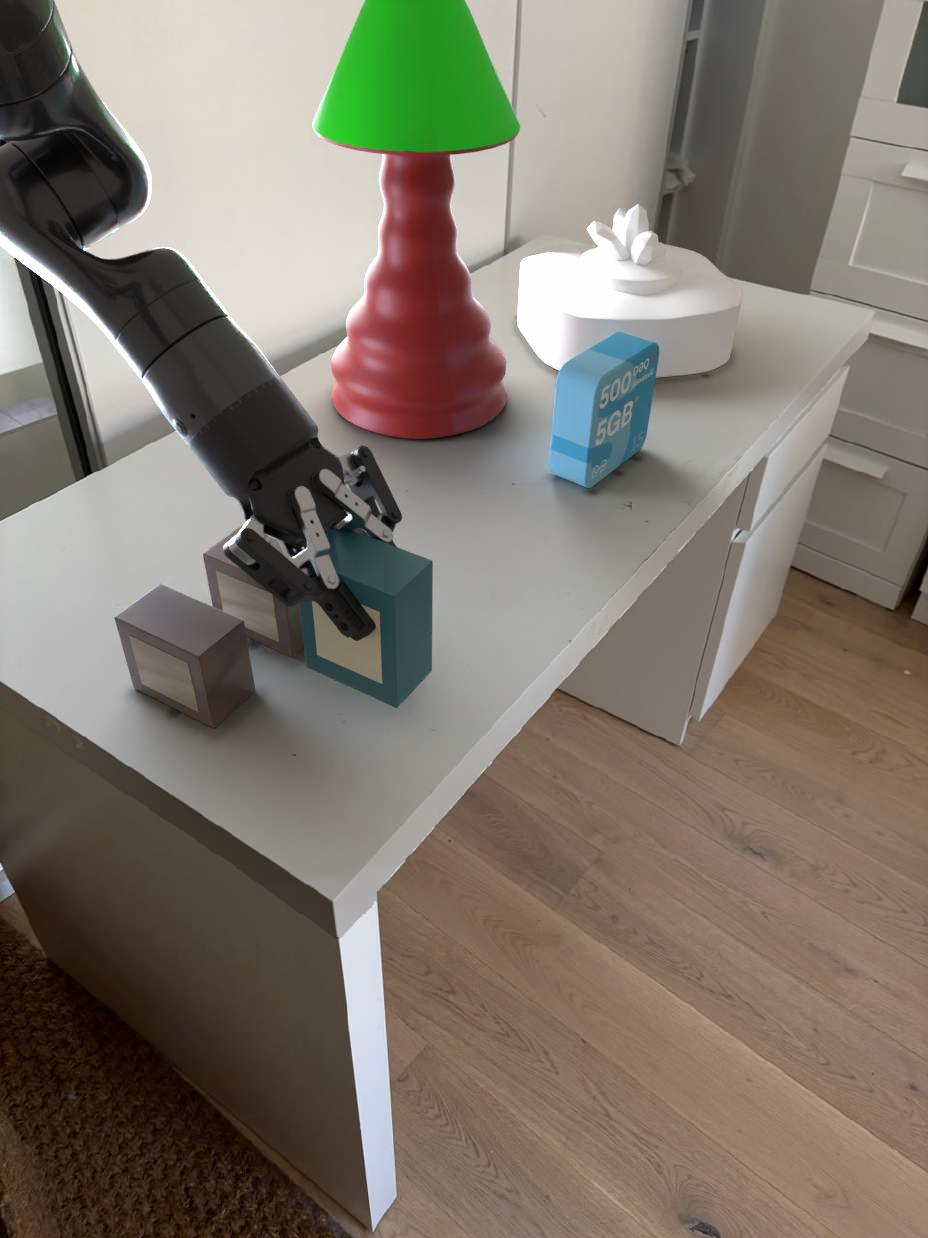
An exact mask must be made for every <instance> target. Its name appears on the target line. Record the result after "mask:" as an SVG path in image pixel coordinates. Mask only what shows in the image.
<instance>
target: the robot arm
mask: <svg viewBox="0 0 928 1238" xmlns="http://www.w3.org/2000/svg"><path fill="white" fill-rule="evenodd" d="M0 141H4V142H8V143H5V144H3V145H1V146H0V246H1V247H2V248H3V249H4V250H5V251H7V252H8V253H9V254H10V255H11V256H13V258H16V259H17V260H18V261H20V263H22V264H23V265H25V266H26V267H27V268H29V269H30V270H31V271H33V272H34V273H36V274H37V275H38V276H40V278H42V279H43V280H45V281H46V282H48V283H49V284H51V286H53V287H54V288H55V289H57V290H58V291H59V292H60V293H62V294H63V295H64V296H65V297H66V298H68V299H69V300H70V301H71V302H72V303H73V304H74V305H76V306H77V307H78V308H79V309H80V310H81V311H82V312H83V313H85V315H87V317H88V318H90V319H91V320H92V321H93V322H94V323H95V325H97V327H99V329H100V330H101V331H102V332H103V333H104V334H105V335H106V337H107V338H108V339H109V340H110V342H111V343H112V344H113V346H114V347H115V348H116V349H117V351H118V352H119V353H120V354H121V356H122V357H123V358H124V359H125V361H126V362H127V363H128V365H129V366H130V367H131V368H132V370H133V371H134V373H136V375H137V376H138V378H140V380H141V381H142V383H143V384H144V386H145V387H146V388H147V390H148V392H149V393H150V395H151V396H152V398H153V400H154V402H155V403H156V405H157V406H158V409H159V410H160V412H161V413H162V415H163V416H164V417H165V419H166V420H167V421H168V422H169V424H170V425H171V426H172V428H174V430H175V432H177V434H178V435H179V436H180V437H181V439H182V441H183V442H184V443H185V444H186V446H187V447H188V448H189V449H190V450H191V452H192V453H193V454H194V456H195V457H196V458H197V459H198V460H199V462H200V463H201V464H202V466H203V467H204V468H205V469H206V471H207V472H208V474H209V475H210V476H211V477H212V478H213V480H214V481H215V482H216V484H217V485H218V486H219V488H220V489H221V490H222V491H223V492H224V494H225V495H226V496H228V497H231V498H234V499H235V500H236V501H237V502H238V504H239V505H240V507H241V510H242V515H243V518H244V520H245V523H244V524H243V527H242V528H241V530H240V531H239V533H238V534H237V535H236V536H234V537H233V538H232V539H231V540H229V541H228V542H227V543H226V544H225V545H224V547H223V552H224V554H225V556H226V557H227V558H228V559H230V560H231V561H232V562H233V563H235V564H236V565H237V566H238V567H239V568H241V569H242V570H243V571H244V572H246V573H247V574H248V575H249V576H250V577H252V578H253V579H254V580H255V581H257V582H258V583H259V584H260V585H261V586H263V587H264V588H265V589H266V590H268V591H269V592H270V593H271V594H272V595H274V596H275V597H276V598H277V599H279V600H280V601H281V602H282V603H283V604H285V605H286V606H288V607H294V606H295V605H297V604H300V603H303V602H307V601H314V602H316V603H317V604H319V606H320V607H321V608H322V609H323V611H324V612H325V613H326V614H327V616H328V617H329V618H330V620H331V621H332V622H333V623H334V625H335V626H336V627H337V629H338V630H339V631H340V632H341V634H343V635H344V636H346V637H347V638H349V637H351V638H352V639H353V640H355V641H359V640H361V639H363V638H365V637H366V636H368V635H370V634H371V633H372V632H373V631H374V630H375V629H376V624H375V622H374V621H373V620H372V618H371V617H370V616H369V614H368V613H367V612H366V611H365V609H364V608H363V607H362V605H361V604H360V602H359V601H358V600H357V598H356V597H355V596H354V595H353V593H352V592H351V591H350V589H349V588H348V587H347V585H346V584H345V583H344V584H342V585H340V586H339V583H340V582H339V577H338V575H337V573H336V570H335V568H334V566H333V563H332V561H331V559H330V556H329V552H330V544H329V541H328V539H327V537H326V533H327V532H328V530H329V529H335V530H340V531H345V532H350V533H351V532H352V531H356V532H358V533H361V534H363V535H366V536H369V537H371V538H374V539H377V540H379V541H382V542H385V543H387V544H390V545H393V546H395V547H398V546H397V544H396V543H395V542H394V533H393V532H394V530H395V528H396V526H397V525H398V524H399V523H400V522H401V521H402V520H403V514H402V512H401V509H400V507H399V506H398V503H397V502H396V500H395V498H394V495H393V493H392V491H391V488H390V487H389V485H388V483H387V480H386V479H385V476H384V474H383V472H382V470H381V468H380V466H379V465H378V462H377V460H376V458H375V456H374V454H373V452H372V450H371V449H370V447H368V446H366V445H360V446H359V447H358V448H356V449H355V450H353V451H352V452H350V453H347V454H344V455H339V456H337V455H336V454H335V453H334V452H332V451H330V450H329V449H327V448H326V446H324V445H323V444H322V443H321V442H320V440H319V426H318V425H317V423H316V422H315V421H314V420H313V418H312V417H311V416H310V415H309V413H308V412H307V410H306V409H305V408H304V406H303V405H302V404H301V402H300V401H299V400H298V399H297V397H296V396H295V394H294V393H293V392H292V390H291V389H290V388H289V386H288V385H287V384H286V382H285V381H284V379H283V378H282V377H281V376H280V375H279V373H278V372H277V370H276V369H275V368H274V366H273V365H272V364H271V362H270V361H269V360H268V359H267V357H266V356H265V355H264V353H263V351H262V350H261V349H260V348H259V346H258V345H257V344H256V343H255V342H254V341H253V340H252V338H250V336H249V335H247V333H246V332H245V331H244V330H243V329H241V327H240V326H239V325H238V324H237V323H236V322H235V320H234V319H233V318H232V317H231V316H230V313H229V312H228V311H227V310H226V309H225V307H224V306H223V305H222V303H221V302H220V301H219V299H218V298H217V297H216V295H215V294H214V293H213V292H212V290H211V288H210V287H209V286H208V285H207V284H206V282H205V281H204V280H203V278H202V277H201V275H200V274H199V273H198V271H197V270H196V269H195V267H194V266H193V265H192V263H191V262H190V261H189V260H188V259H187V257H185V256H184V254H182V253H181V252H180V251H178V250H177V249H174V248H172V247H167V246H161V247H160V246H159V247H154V248H150V249H149V248H148V249H146V250H143V251H139V252H137V253H133V254H130V255H129V254H128V255H126V256H121V257H115V258H106V257H101V256H99V255H95V254H93V253H91V252H89V251H88V249H90V248H92V247H93V246H95V245H96V244H98V243H101V241H104V239H106V238H108V237H110V236H111V235H113V234H115V233H116V232H118V231H119V230H121V229H122V228H124V227H126V226H127V225H129V224H131V223H133V222H134V221H135V220H136V219H138V218H139V217H141V215H142V214H143V213H144V212H145V210H147V207H148V206H149V203H150V201H151V200H150V199H151V195H152V187H153V186H152V185H153V184H152V183H153V182H152V181H153V180H152V173H151V170H150V167H149V164H148V162H147V160H146V158H145V156H144V154H143V152H142V151H141V149H140V148H139V146H138V145H137V143H136V142H135V141H134V139H133V138H132V137H131V136H130V134H129V133H128V132H127V130H126V129H125V128H124V127H123V125H122V124H121V123H120V122H119V120H118V119H117V118H116V117H115V116H114V114H113V113H112V112H111V111H110V110H109V108H108V107H107V105H106V104H105V103H104V101H103V100H102V99H101V97H100V95H99V93H97V91H96V89H95V88H94V86H93V84H92V83H91V81H90V80H89V78H88V76H87V75H86V73H85V71H84V70H83V68H82V66H81V64H80V62H79V60H78V57H77V56H76V54H75V51H74V48H73V46H72V43H71V41H70V38H69V35H68V33H67V29H66V27H65V24H64V22H63V20H62V17H61V14H60V12H59V9H58V7H57V3H56V1H55V0H0ZM347 486H348V487H347ZM379 509H380V510H379ZM266 535H268V536H266ZM270 536H271V537H273V538H276V539H278V542H279V544H280V547H281V549H282V551H283V554H284V555H283V554H281V553H280V552H279V551H278V550H277V549H275V548H274V547H273V546H272V545H271V538H270ZM303 548H304V549H303ZM305 548H306V549H305ZM310 563H312V565H313V567H314V570H315V572H316V573H315V572H314V571H313V569H312V568H311V567H310ZM316 574H317V575H316Z"/></svg>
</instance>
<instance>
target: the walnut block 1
mask: <svg viewBox="0 0 928 1238" xmlns="http://www.w3.org/2000/svg"><path fill="white" fill-rule="evenodd" d="M113 618H114V621H115V626H116V629H117V633H118V636H119V639H120V643H121V647H122V651H123V654H124V657H125V661H126V665H127V668H128V673H129V676H130V679H131V683H132V687H133V688H134V689H135V690H137V691H139V692H141V693H143V694H144V695H147V696H149V697H151V698H153V699H154V700H157V701H159V702H161V703H162V704H165V705H166V706H168V707H170V708H172V709H175V710H176V711H178V712H180V713H182V714H184V715H187V716H188V717H190V718H192V719H194V720H196V721H198V722H200V723H202V724H204V725H206V726H207V727H210V728H212V729H216V728H217V727H218V726H219V725H220V724H221V723H222V722H223V721H225V719H227V718H228V717H229V716H230V715H231V714H232V713H233V712H234V711H236V709H238V708H239V707H240V706H241V705H242V704H243V703H244V702H246V700H248V698H250V697H251V696H252V695H253V694H254V693H255V692H256V685H255V680H254V673H253V667H252V662H251V656H250V649H249V643H248V637H246V631H245V625H244V620H242V619H240V618H237V617H235V616H233V615H231V614H228V613H226V612H224V611H222V610H219V609H217V608H215V607H213V606H212V605H210V604H208V603H206V602H204V601H201V600H200V599H197V598H195V597H192V596H190V595H188V594H186V593H183V592H181V591H179V590H176V589H174V588H172V587H170V586H167V585H166V584H163V583H159V584H158V585H156V586H155V587H153V588H152V589H151V590H150V591H148V592H146V593H145V594H144V595H142V596H141V597H140V598H138V599H137V600H135V601H134V602H133V603H131V604H130V605H128V606H127V607H126V608H124V609H123V610H122V611H120V612H119V613H118V614H116V615H114V617H113Z"/></svg>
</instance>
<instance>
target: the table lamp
mask: <svg viewBox="0 0 928 1238" xmlns="http://www.w3.org/2000/svg"><path fill="white" fill-rule="evenodd" d="M311 124H312V126H311V127H312V130H313V131H314V133H315V134H316V135H317V137H319V138H321V139H322V140H324V141H325V142H327V143H329V144H332V145H335V146H338V147H341V148H346V149H350V150H353V151H358V152H365V153H372V154H379V155H382V159H381V165H380V170H379V174H378V184H379V190H380V194H381V197H382V201H383V211H382V214H381V217H380V220H379V223H378V229H377V238H378V239H377V240H378V250H377V254H376V256H375V257H374V259H372V262H371V263H370V264H369V266H368V268H367V270H366V273H365V275H364V276H365V277H364V282H363V283H364V293H363V294H362V297H361V298H360V299H359V300H358V301H357V302H356V303H355V304H354V305H353V306H352V307H351V309H350V310H349V312H348V314H347V316H346V320H345V329H346V330H345V331H346V337H345V338H344V339H343V340H341V342H340V343H339V345H337V347H336V348H335V350H334V352H333V354H332V356H331V358H330V368H331V374H332V376H333V378H334V380H335V381H334V384H333V387H332V389H331V392H330V398H331V399H330V400H331V403H332V405H333V408H334V409H335V410H336V411H337V412H338V413H339V414H340V415H341V417H342V418H343V419H345V420H346V421H347V422H349V423H350V424H352V425H354V426H355V427H357V428H360V429H362V430H365V431H368V432H371V433H375V434H379V435H383V436H389V437H393V438H400V439H410V440H411V439H413V440H427V439H438V438H439V439H440V438H445V437H451V436H456V435H459V434H464V433H469V432H471V431H475V430H477V429H478V428H482V427H484V426H485V425H487V424H488V423H489V422H491V421H492V420H494V419H495V418H496V417H497V416H498V415H499V414H500V413H501V412H502V411H503V409H504V407H505V405H506V404H507V400H508V392H507V389H506V387H505V384H504V381H503V380H504V378H505V376H506V372H507V359H506V356H505V354H504V352H503V350H502V349H501V347H500V346H499V345H498V343H496V341H495V340H494V339H493V338H492V337H491V330H492V323H491V321H492V320H491V318H490V315H489V313H488V312H487V310H486V309H485V307H484V306H483V305H482V304H481V303H480V302H479V301H478V299H476V298H475V296H474V295H473V281H472V276H471V273H470V271H469V269H468V266H467V265H466V264H465V262H464V261H463V260H462V258H461V257H460V255H459V252H458V249H457V248H458V228H457V224H456V221H455V218H454V214H453V211H452V201H453V196H454V193H455V189H456V181H457V180H456V174H455V170H454V166H453V160H452V156H453V155H463V154H471V153H478V152H483V151H488V150H492V149H495V148H498V147H502V146H503V145H504V146H505V145H506V144H509V143H510V142H511V141H513V140H514V139H516V138H517V136H518V135H519V133H520V132H521V123H520V122H519V119H518V117H517V115H516V112H515V110H514V108H513V106H512V103H511V101H510V99H509V97H508V94H507V92H506V89H505V88H504V85H503V83H502V81H501V78H500V76H499V73H498V72H497V70H496V67H495V65H494V62H493V60H492V58H491V56H490V53H489V51H488V49H487V46H486V44H485V42H484V39H483V38H482V35H481V33H480V31H479V28H478V26H477V24H476V21H475V19H474V17H473V14H472V12H471V10H470V7H469V5H468V3H467V2H466V0H364V1H363V4H362V6H361V8H360V10H359V12H358V15H357V17H356V19H355V21H354V24H353V27H352V29H351V31H350V34H349V36H348V38H347V41H346V43H345V45H344V47H343V50H342V53H341V54H340V57H339V59H338V62H337V64H336V66H335V69H334V70H333V73H332V75H331V78H330V80H329V83H328V85H327V87H326V90H325V91H324V95H323V97H322V99H321V101H320V104H319V105H318V108H317V111H316V113H315V116H314V118H313V119H312V122H311Z"/></svg>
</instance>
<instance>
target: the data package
mask: <svg viewBox="0 0 928 1238" xmlns="http://www.w3.org/2000/svg"><path fill="white" fill-rule="evenodd" d="M658 359H659V346H658V344H657V343H655V342H652V341H648V340H645V339H642V338H639V337H635V336H632V335H629V334H626V333H622V332H615V333H613V334H612V335H610V336H608V337H607V338H605V339H604V340H602V341H600V342H599V343H597V344H595V345H594V346H592V347H590V348H589V349H587V350H585V351H584V352H582V353H580V354H579V355H577V356H575V357H574V358H572V359H571V360H569V361H567V362H566V363H565V364H564V365H563V366H562V367H561V369H560V371H559V370H558V373H557V376H556V379H555V389H554V400H553V411H552V425H551V436H550V447H549V448H550V449H549V457H548V458H549V459H548V468H549V469H548V470H549V472H550V474H551V475H554V476H556V477H560V478H562V479H564V480H567V481H569V482H572V483H575V484H577V485H579V486H582V487H584V488H586V489H587V488H588V489H590V488H593V487H594V486H595V485H597V484H598V483H599V482H601V481H602V480H603V479H605V478H606V477H607V476H608V475H610V474H611V473H613V471H615V470H616V469H618V468H619V467H620V466H622V465H623V464H624V463H625V462H627V460H629V459H630V458H632V457H633V456H634V455H635V454H637V453H639V451H640V450H641V449H642V448H643V446H644V444H645V441H646V439H647V436H648V435H647V434H648V429H649V423H650V415H651V409H652V404H653V397H654V390H655V384H656V379H657V378H656V372H657V366H658Z"/></svg>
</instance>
